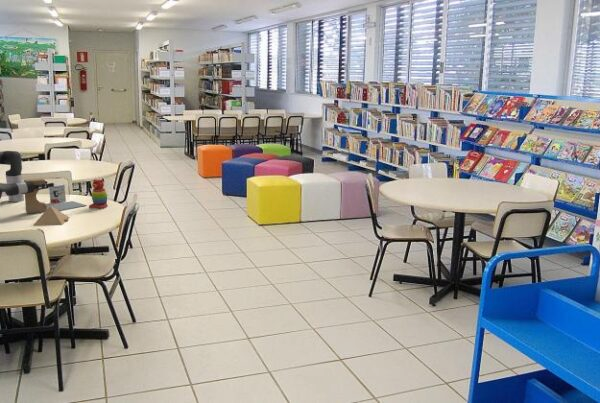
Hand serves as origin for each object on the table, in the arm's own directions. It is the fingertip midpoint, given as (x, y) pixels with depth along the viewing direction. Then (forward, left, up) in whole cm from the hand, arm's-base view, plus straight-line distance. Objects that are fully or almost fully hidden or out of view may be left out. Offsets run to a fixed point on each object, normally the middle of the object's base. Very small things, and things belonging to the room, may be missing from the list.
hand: (50, 183), depth 351 cm
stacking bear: (+17, +23, -17) cm, 33 cm away
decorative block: (0, -10, -16) cm, 19 cm away
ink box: (-15, +12, -17) cm, 25 cm away
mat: (0, +7, -16) cm, 18 cm away
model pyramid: (+28, -15, -17) cm, 36 cm away
